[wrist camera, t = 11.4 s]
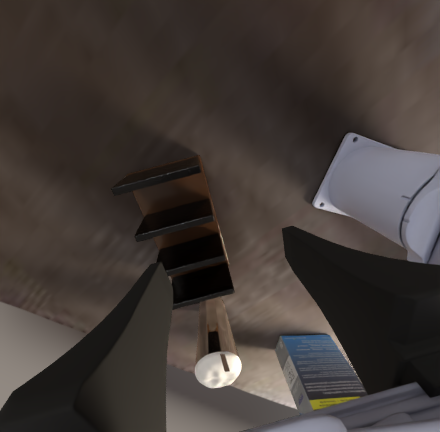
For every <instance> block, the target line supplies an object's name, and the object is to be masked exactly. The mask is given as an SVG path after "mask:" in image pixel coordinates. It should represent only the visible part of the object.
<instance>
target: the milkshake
mask: <svg viewBox="0 0 440 432" xmlns="http://www.w3.org/2000/svg"><path fill="white" fill-rule="evenodd" d="M240 371H241V361H240V358H239V355H238V352H237V348H236V345H235V342H234V338H233V335H232V331H231V327H230V323H229V320H228V316H227V312H226V308H225V305H224V301H223V300H222V299H221V297H217V298H214V299H210V300H206V301H203V302H200V305H199V321H198V341H197V351H196V364H195V375H196V378H197V379H198V381H199V382H200V383H202V384H203V385H205V386H207V387H209V388H219V387H222V386H225V385H230V384H231V383H233V382H234V381H235V379H236V378H237V377H238V376H239V374H240Z"/></svg>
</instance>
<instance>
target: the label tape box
mask: <svg viewBox="0 0 440 432" xmlns="http://www.w3.org/2000/svg"><path fill="white" fill-rule="evenodd" d="M275 352H276V354H277V357H278V360H279V363H280V365H281V368H282V370H283V373H284V375H285V378H286V381H287V383H288V386H289V388H290V391H291V393H292V396H293V399H294V401H295V404H296V407H297V409H298V412H299V414H300V415H301V414H304V413H308V412H311V411H315V410H318V409H322V408H325V407H329V406H332V405H336V404H339V403H343V402H346V401H350V400H353V399H357V398H360V397H364V396H367V395H368V394H367V392H366V390H365V388H364V386H363V384H362V383H361V381H360V380H359V378H358V377H357V375H356V374H355V373H354V371H353V369H352V368H351V366H350V365H349V363H348V362H347V360H346V359H345V357H344V356H343V354H342V353H341V351H340V350H339V348H338V347H337V345H336V344H335V343H334V341H333V340H332V338H331V337H330V335H298V336H280V338H279V340H278V343H277V346H276V350H275Z"/></svg>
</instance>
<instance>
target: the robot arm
mask: <svg viewBox="0 0 440 432" xmlns="http://www.w3.org/2000/svg"><path fill="white" fill-rule="evenodd" d="M354 138H355V141H354V142H353V139H354ZM321 203H322V205H321V206H320V204H321ZM312 205H313V206H314V207H315V208H319V209H323V210H326V211H330V212H334V213H338V214H342V215H346V216H349V217H352V218H354V219H356V220H357V221H359V222H361V223H363V224H364V225H366V226H368V227H369V228H371V229H373V230H374V231H376V232H378V233H380V234H381V235H383V236H385V237H386V238H388V239H390V240H392V241H393V242H395V243H397V244H398V245H400V246H402V247H403V248H405V249H407V251H408V255H407V260H408V261H404V260H398V259H393V258H387V257H383V256H378V255H373V254H369V253H365V252H361V251H358V250H354V249H351V248H347V247H344V246H341V245H338V244H336V243H333V242H330V241H327V240H325V239H322V238H320V237H317V236H315V235H313V234H310V233H308V232H306V231H304V230H301V229H299V228H297V227H294V226H289V227H286V228H282V233H283V241H284V250H285V257H286V259H287V261H288V263H289V265H290V266H291V268H292V270H293V271H294V273H295V274H296V276H297V277H298V278H299V280H300V281H301V283H302V284H303V285H304V287H305V288H306V289H307V291H308V292H309V293H310V295H311V296H312V298H313V299H314V300H315V302H316V303H317V305H318V306H319V308H320V309H321V311H322V312H323V314H324V316H325V317H326V319H327V321H328V322H329V324H330V326H331V327H332V329H333V331H334V333H335V334H336V336H337V338H338V340H339V342H340V343H341V345H342V347H343V349H344V351H345V352H346V354H347V356H348V358H349V360H350V362H351V363H352V365H353V367H354V369H355V371H356V373H357V375H358V377H359V379H360V381H361V382H362V384H363V386H364V388H365V390H366V392H367V394H368V395H367V396H364V397H360V398H357V399H353V400H350V401H346V402H343V403H339V404H336V405H332V406H329V407H325V408H322V409H318V410H315V411H311V412H308V413H304V414H301V415H298V416H294V417H290V418H287V419H283V420H280V421H276V422H273V423H269V424H266V425H262V426H259V427H255V428H252V429H248V430H244V431H241V432H440V155H439V154H431V153H423V152H415V151H407V150H399V149H395V148H392V147H390V146H387V145H384V144H382V143H379V142H376V141H374V140H371V139H368V138H366V137H363V136H360V135H358V134H355V133H347V134H346V135H345V137H344V139H343V141H342V143H341V145H340V147H339V149H338V151H337V153H336V155H335V157H334V159H333V161H332V163H331V165H330V167H329V169H328V172H327V174H326V176H325V178H324V180H323V182H322V184H321V186H320V188H319V190H318V192H317V194H316V196H315V198H314V200H313V202H312ZM172 308H173V287H172V285H171V282H170V280H169V278H168V276H167V274H166V271H165V269H164V267H163V265H162V263H161V262H157V263H154V264H151V265H150V266H149V267H148V268H147V269H146V270H145V272H144V273H143V274H142V276H141V277H140V278H139V280H138V281H137V282H136V283H135V285H134V286H133V287H132V288H131V290H130V291H129V292H128V293H127V294H126V296H125V297H124V298H123V299H122V300H121V301H120V303H119V304H118V305H117V306H116V307H115V308H114V309H113V310H112V311H111V312H110V314H109V315H108V316H107V317H106V318H105V319H104V320H103V321H102V322H101V323H100V324H99V325H97V326H96V327H95V328H94V329H93V330H92V331H91V332H90V333H89V334H87V335H86V336H85V337H84V338H83V339H82V340H81V341H80V342H79V343H77V344H76V345H75V346H74V347H73V348H71V349H70V350H69V351H68V352H66V353H65V354H64V355H63V356H61V357H60V358H59V359H58V360H56V361H55V362H54V363H52V364H51V365H50V366H48V367H47V368H46V369H44V370H43V371H42V372H40V373H39V374H37V375H36V376H34V377H33V378H32V379H30V380H29V381H27V382H26V383H25V384H23V385H22V386H20V387H19V388H18V389H16V390H15V391H13V392H12V394H11V395H10V397H9V398H8V400H7V401H6V403H5V404H4V406H3V408H2V409H1V411H0V432H166V363H167V346H168V338H169V331H170V323H171V316H172Z"/></svg>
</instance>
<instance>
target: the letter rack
mask: <svg viewBox="0 0 440 432" xmlns="http://www.w3.org/2000/svg"><path fill="white" fill-rule="evenodd" d="M111 190H112V192H113V194H114V196H116V195H120V194H123V193H127V192H131V191H132V192H133V194H134V196H135V198H136V200H137V203H138V205H139V207H140V209H141V212H142V214H143V216H144V219H143V221H142V223H141V224H140V226H139V228H138V230H137V232H136V234H135V238H136V241H137V242H139V241H143V240H146V239H150V238H153V239H154V241H155V243H156V245H157V247H158V250H159V255H158V259H157V262H161V263H162V265H163V267H164V269H165V271H166V274H167V276H170V277H171V279H172V287H173V308H172V310H174V309H177V308H181V307H185V306H188V305H192V304H196V303H199V302H203V301H206V300H210V299H214V298H217V297H221V296H225V295H228V294H232V293H235V291H234V287H233V283H232V280H231V276H230V272H229V268H228V266H229V261H228V257H227V254H226V250H225V246H224V243H223V239H222V235H221V232H220V228H219V224H218V221H217V217H216V213H215V210H214V206H213V202H212V199H211V195H210V191H209V188H208V184H207V180H206V176H205V173H204V169H203V165H202V162H201V158H200V155H197V156H193V157H189V158H186V159H182V160H178V161H174V162H170V163H167V164H163V165H159V166H155V167H152V168H148V169H144V170H140V171H137V172H133V173H129V174H127V175H126V177H125V178H124V179H122V180H121V181H120V182H119V183H117V184H116V185H115V186H114V187H112V188H111ZM157 262H156V263H157Z"/></svg>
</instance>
